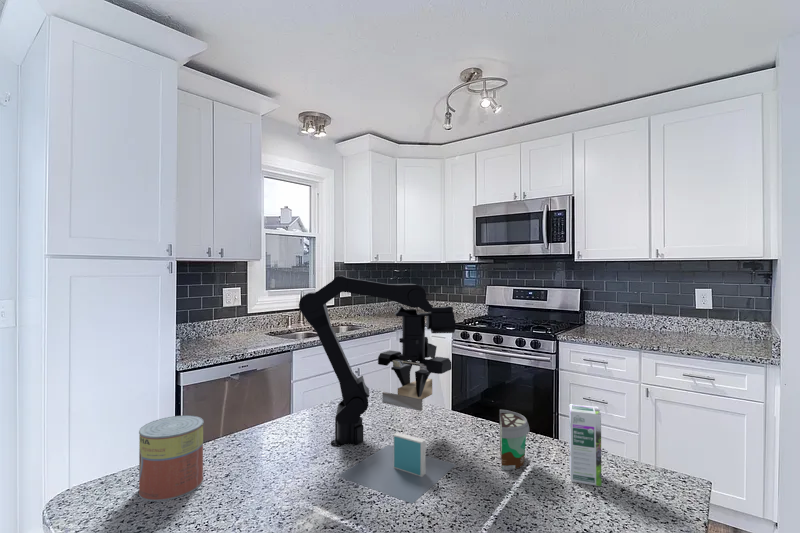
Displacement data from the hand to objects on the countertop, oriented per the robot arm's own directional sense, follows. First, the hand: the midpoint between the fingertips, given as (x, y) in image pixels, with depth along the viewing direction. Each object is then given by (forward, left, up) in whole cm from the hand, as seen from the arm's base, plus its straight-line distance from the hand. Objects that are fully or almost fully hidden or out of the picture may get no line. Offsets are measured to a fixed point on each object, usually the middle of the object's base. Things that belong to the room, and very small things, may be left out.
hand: (413, 395), depth 104 cm
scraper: (0, +1, -1) cm, 2 cm away
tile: (+8, -15, -10) cm, 20 cm away
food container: (+25, +2, -12) cm, 28 cm away
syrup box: (+39, +4, -12) cm, 41 cm away
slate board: (+6, -16, -11) cm, 21 cm away
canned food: (-29, -45, -12) cm, 55 cm away
